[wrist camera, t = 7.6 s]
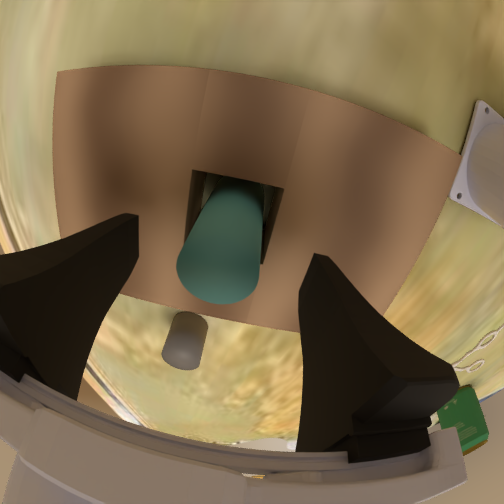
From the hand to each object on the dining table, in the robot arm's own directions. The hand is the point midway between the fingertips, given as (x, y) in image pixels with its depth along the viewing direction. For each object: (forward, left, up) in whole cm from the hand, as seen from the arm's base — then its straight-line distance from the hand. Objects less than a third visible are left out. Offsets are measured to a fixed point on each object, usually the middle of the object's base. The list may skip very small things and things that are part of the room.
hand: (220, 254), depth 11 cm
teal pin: (0, 0, -7) cm, 7 cm away
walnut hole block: (0, 0, -7) cm, 7 cm away
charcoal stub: (+2, +13, -7) cm, 15 cm away
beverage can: (-43, +25, -7) cm, 50 cm away
